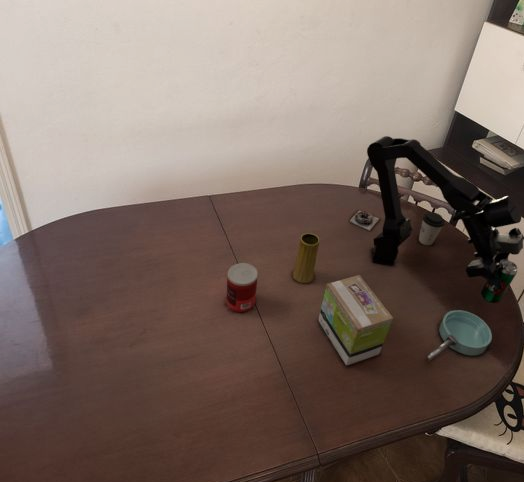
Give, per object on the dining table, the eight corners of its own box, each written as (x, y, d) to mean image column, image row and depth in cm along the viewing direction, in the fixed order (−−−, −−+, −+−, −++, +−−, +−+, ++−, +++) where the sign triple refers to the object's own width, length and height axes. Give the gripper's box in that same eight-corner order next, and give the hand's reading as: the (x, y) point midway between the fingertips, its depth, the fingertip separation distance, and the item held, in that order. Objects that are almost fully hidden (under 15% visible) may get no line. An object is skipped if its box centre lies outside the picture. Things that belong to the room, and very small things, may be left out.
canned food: (259, 297, 127) (262, 268, 120) (246, 317, 121) (249, 288, 114) (234, 287, 129) (236, 258, 122) (220, 306, 123) (222, 277, 116)
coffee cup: (438, 239, 154) (448, 215, 148) (433, 250, 149) (442, 226, 143) (418, 231, 156) (427, 207, 150) (412, 241, 152) (421, 217, 145)
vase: (315, 272, 136) (323, 235, 128) (310, 286, 132) (318, 248, 123) (296, 266, 138) (302, 229, 129) (290, 279, 133) (296, 242, 124)
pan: (442, 351, 117) (447, 343, 115) (435, 315, 127) (439, 306, 125) (491, 359, 116) (497, 351, 114) (480, 322, 126) (485, 314, 124)
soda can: (503, 303, 123) (523, 271, 115) (486, 304, 122) (504, 272, 114) (493, 289, 127) (511, 257, 119) (476, 290, 126) (494, 258, 118)
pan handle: (448, 338, 118) (450, 334, 117) (456, 344, 117) (458, 340, 116) (422, 357, 113) (424, 353, 112) (430, 364, 111) (432, 360, 110)
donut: (359, 210, 163) (360, 205, 162) (379, 219, 160) (380, 214, 159) (348, 221, 158) (349, 216, 156) (369, 230, 154) (370, 226, 153)
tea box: (316, 321, 122) (325, 281, 113) (348, 311, 125) (360, 272, 116) (345, 367, 111) (358, 328, 102) (380, 355, 115) (395, 316, 106)
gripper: (497, 240, 106) (524, 299, 108) (523, 208, 118) (548, 262, 119) (453, 248, 115) (479, 303, 116) (482, 218, 126) (505, 268, 128)
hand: (504, 283), depth 120 cm, fingers closed on soda can, 5 cm apart
